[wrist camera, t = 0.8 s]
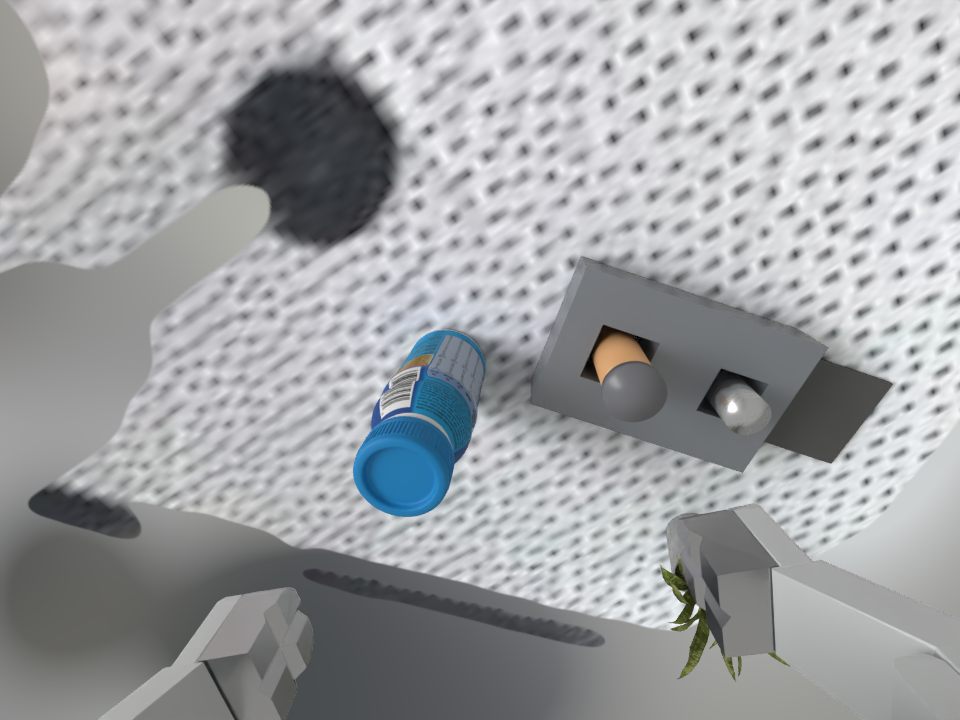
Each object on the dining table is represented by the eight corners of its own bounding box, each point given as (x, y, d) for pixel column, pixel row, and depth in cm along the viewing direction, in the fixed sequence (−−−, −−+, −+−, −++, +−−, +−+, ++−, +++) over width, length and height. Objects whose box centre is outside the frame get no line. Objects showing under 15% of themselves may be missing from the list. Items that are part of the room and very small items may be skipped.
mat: (794, 350, 45) (797, 352, 44) (889, 381, 45) (893, 384, 44) (741, 432, 49) (743, 434, 48) (828, 460, 49) (831, 463, 48)
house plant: (765, 470, 50) (865, 600, 35) (763, 564, 55) (850, 712, 40) (631, 485, 53) (671, 611, 38) (641, 573, 58) (680, 715, 43)
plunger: (696, 397, 44) (717, 427, 39) (715, 365, 43) (739, 392, 38) (731, 409, 44) (756, 440, 39) (750, 377, 43) (779, 405, 38)
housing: (530, 381, 49) (530, 403, 44) (580, 256, 43) (586, 266, 39) (722, 444, 49) (742, 472, 45) (797, 328, 44) (828, 347, 39)
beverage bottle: (496, 337, 47) (473, 445, 29) (477, 406, 51) (447, 541, 32) (417, 317, 47) (345, 412, 29) (404, 387, 51) (332, 511, 32)
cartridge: (597, 312, 45) (618, 358, 34) (642, 327, 45) (678, 378, 34) (578, 354, 47) (593, 411, 36) (622, 368, 47) (650, 430, 36)
